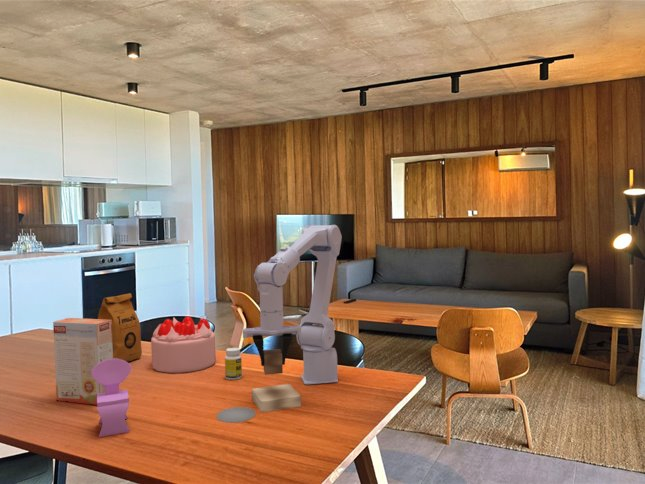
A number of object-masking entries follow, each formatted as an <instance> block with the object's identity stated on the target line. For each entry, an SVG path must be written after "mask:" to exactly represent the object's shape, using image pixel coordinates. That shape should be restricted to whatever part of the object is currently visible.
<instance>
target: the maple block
mask: <svg viewBox="0 0 645 484" xmlns="http://www.w3.org/2000/svg"><path fill="white" fill-rule="evenodd" d="M251 400H252V401H253V403H254V404H255V406H256V408H257V409H258V410H259V412H260V413H266V412H272V411H273V412H274V411H279V410H286V409H293V408H298V407H299V408H300V407H302V395H301V394H300V393H299V392H298V391H297V390H295V388H294V387H293V386H292V385H291V384H290V383H286V384H278V385H272V386H263V387H256V388H251Z"/></svg>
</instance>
